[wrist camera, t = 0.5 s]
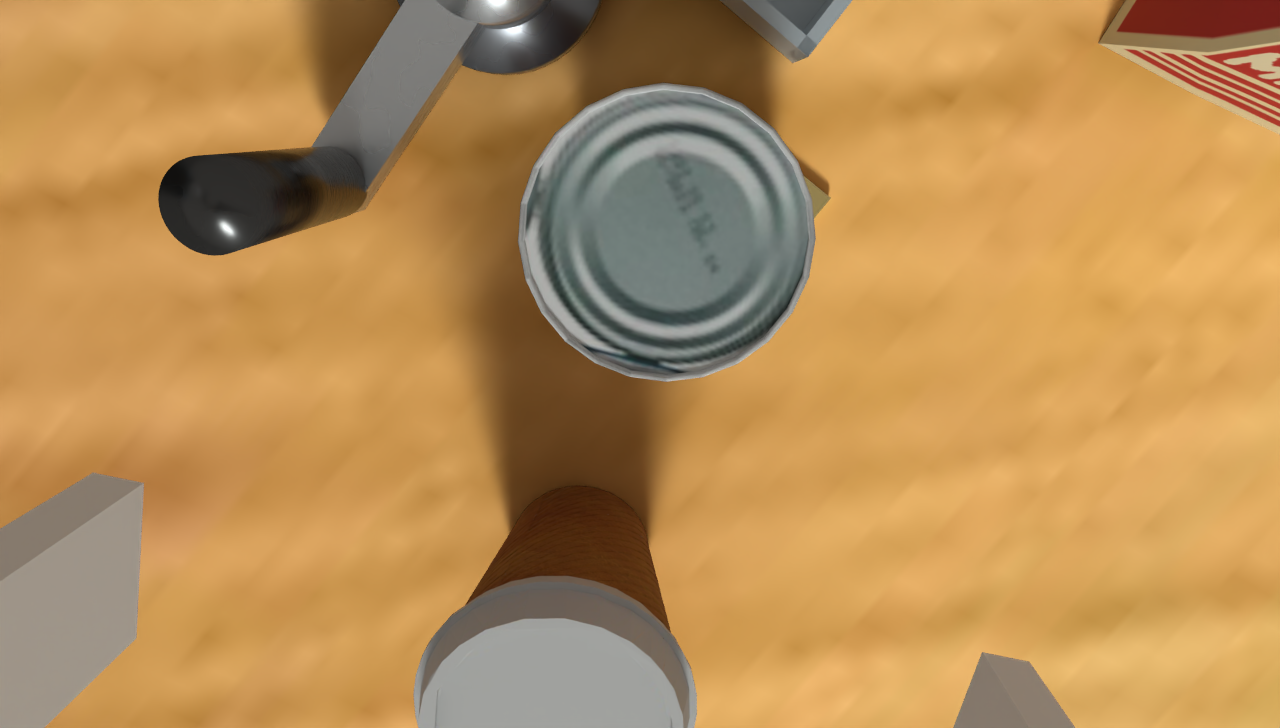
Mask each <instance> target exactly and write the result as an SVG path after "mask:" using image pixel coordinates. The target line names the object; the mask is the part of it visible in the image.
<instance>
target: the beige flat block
mask: <svg viewBox="0 0 1280 728" xmlns="http://www.w3.org/2000/svg"><path fill="white" fill-rule="evenodd" d="M804 179H805V182H806V184H807V187H808V190H809V192H810V195H811V198H812V204H813V215H814V218H815V216H816V215H817V214H818V213H819V212H820V210H821V209H822V208H823V207H824V206H825V204H826V203H827V202H828V201H829V200H830V197H829V196H828V195H826V194H825V193H824V192H823V191H822V190H820V189H819V188H818V187H817V186H816V185H814V184H813V183H812V182H811V181H809V180H808V179H807V178H806V177H805V176H804Z"/></svg>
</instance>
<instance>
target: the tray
mask: <svg viewBox="0 0 1280 728" xmlns="http://www.w3.org/2000/svg"><path fill="white" fill-rule="evenodd" d="M720 1H721V2H722V3H723V4H724V5H726V6H727V7H728V8H729V9H730V10H731V11H733V12H734V13H735V14H736V15H737V16H738V17H740V18H741V19H742V20H743V21H744V22H745V23H747V24H748V25H749V26H750V27H751V28H752V29H754V30H755V31H756V32H757V33H758V34H759V35H761V36H762V37H763V38H764V39H765V40H766V41H768V42H769V43H770V44H771V45H772V46H773V47H775V48H776V49H777V50H778V51H779V52H781V53H782V54H783V55H784V56H785V57H786V58H788V59H789V60H790V61H791V62H792V63H794V62H797V61H799V60H802V59H804V58H806V57H808V56H809V55H810V54H811V52H812V51H813V50H814V49H815V47H816V46H817V45H818V43H819V42H820V41H821V40H822V38H823V37H824V36H825V34H826V33H827V32H828V31H829V29H830V28H831V27H832V26H833V24H834V23H835V22H836V20H837V19H838V18H839V17H840V15H841V14H842V13H843V11H844V10H845V9H846V8H847V6H848V5H849V4H850V3H851V1H852V0H720Z"/></svg>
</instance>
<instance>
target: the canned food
mask: <svg viewBox="0 0 1280 728" xmlns="http://www.w3.org/2000/svg"><path fill="white" fill-rule="evenodd" d="M815 239H816V238H815V227H814V215H813V204H812V198H811V195H810V192H809V190H808V187H807V184H806V182H805V179H804V176H803V174H802V171H801V168H800V165H799V163H798V161H797V159H796V158H795V157H794V155H793V154H792V153H791V151H790V150H789V148H788V147H787V146H786V144H785V143H784V141H783V140H782V139H781V137H780V136H779V135H778V133H777V132H776V130H775V129H774V128H773V127H771V126H770V125H769V124H768V123H766V122H765V121H764V120H763V119H761V118H760V117H759V116H758V115H756V114H755V113H754V112H753V111H751V110H750V109H749V108H747V107H746V106H745V105H744V104H742V103H740V102H738V101H735V100H733V99H731V98H728V97H726V96H723V95H721V94H719V93H716V92H714V91H711V90H709V89H707V88H704V87H695V86H687V85H678V84H670V83H659V84H653V85H647V86H640V87H634V88H628V89H623V90H621V91H618V92H616V93H614V94H612V95H610V96H608V97H605V98H603V99H601V100H599V101H597V102H595V103H593V104H590V105H588V106H586V107H585V108H584V109H583V110H582V111H580V112H579V113H578V114H577V115H576V116H574V117H573V118H572V119H571V120H570V121H569V122H567V123H566V124H565V125H564V126H563V127H562V128H560V129H559V130H558V131H557V132H556V133H555V134H554V136H553V137H552V139H551V140H550V142H549V143H548V145H547V146H546V148H545V149H544V151H543V152H542V154H541V155H540V157H539V158H538V160H537V161H536V162H535V164H534V165H533V168H532V171H531V174H530V177H529V180H528V183H527V186H526V189H525V192H524V195H523V198H522V200H521V206H520V221H519V236H518V243H519V249H520V254H521V259H522V264H523V270H524V275H525V279H526V281H527V284H528V286H529V288H530V290H531V292H532V294H533V296H534V298H535V300H536V303H537V305H538V307H539V309H540V311H541V313H542V314H543V315H544V317H545V318H546V319H547V320H548V321H549V323H550V324H551V325H552V326H553V327H554V329H555V330H556V331H557V332H558V333H559V335H560V336H561V337H562V338H563V339H564V341H565V342H567V343H568V344H569V345H571V346H572V347H573V348H575V349H576V350H578V351H579V352H580V353H582V354H583V355H585V356H586V357H587V358H589V359H590V360H591V361H593V362H594V363H596V364H598V365H601V366H603V367H606V368H608V369H611V370H614V371H616V372H619V373H621V374H624V375H626V376H629V377H634V378H642V379H650V380H658V381H665V382H667V381H675V380H683V379H692V378H700V377H705V376H707V375H710V374H712V373H715V372H717V371H720V370H723V369H725V368H728V367H730V366H733V365H735V364H738V363H739V362H741V361H742V360H743V359H745V358H746V357H748V356H749V355H750V354H752V353H753V352H754V351H756V350H757V349H759V348H760V347H761V346H763V345H764V344H766V343H767V342H768V341H769V340H770V339H771V338H772V336H773V335H774V334H775V333H776V332H777V330H778V329H779V328H780V327H781V326H782V324H783V323H784V322H785V321H786V320H787V318H788V317H789V316H790V315H791V314H792V312H793V310H794V308H795V306H796V304H797V302H798V299H799V297H800V295H801V293H802V291H803V289H804V286H805V284H806V282H807V280H808V278H809V273H810V267H811V262H812V256H813V250H814V245H815Z"/></svg>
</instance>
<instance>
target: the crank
mask: <svg viewBox="0 0 1280 728" xmlns="http://www.w3.org/2000/svg"><path fill="white" fill-rule="evenodd" d="M550 2H551V0H405V1H404V3H403V4H402V6H401V7H400V9H399V10H398V12H397V14H396V15H395V17H394V18H393V20H392V21H391V23H390V25H389V26H388V28H387V29H386V31H385V32H384V34H383V36H382V37H381V39H380V40H379V42H378V43H377V45H376V47H375V48H374V50H373V51H372V53H371V54H370V56H369V58H368V59H367V61H366V62H365V64H364V65H363V67H362V69H361V70H360V72H359V73H358V75H357V76H356V78H355V80H354V81H353V83H352V84H351V86H350V87H349V89H348V91H347V92H346V94H345V95H344V97H343V98H342V100H341V102H340V103H339V105H338V106H337V108H336V109H335V111H334V112H333V114H332V116H331V117H330V119H329V120H328V122H327V123H326V125H325V127H324V128H323V130H322V131H321V133H320V134H319V136H318V138H317V139H316V141H315V142H314V144H313V145H312V147H309V148H296V149H282V150H269V151H255V152H242V153H228V154H215V155H201V156H192V157H188V158H185V159H182V160H180V161H179V162H177V163H176V164H174V165H173V166H172V167H171V168H170V169H169V170H168V171H167V173H166V174H165V175H164V177H163V179H162V182H161V185H160V189H159V208H160V212H161V215H162V218H163V220H164V222H165V224H166V226H167V228H168V229H169V231H170V232H171V233H172V234H173V236H174V237H175V238H176V239H177V240H178V241H180V242H181V243H182V244H183V245H185V246H186V247H188V248H190V249H192V250H194V251H196V252H199V253H202V254H207V255H224V254H228V253H232V252H235V251H238V250H241V249H244V248H248V247H251V246H254V245H257V244H260V243H263V242H267V241H270V240H273V239H276V238H279V237H283V236H286V235H289V234H292V233H295V232H299V231H302V230H305V229H308V228H311V227H314V226H318V225H321V224H324V223H327V222H330V221H334V220H337V219H340V218H343V217H346V216H349V215H351V214H353V213H356V212H359V211H362V210H365V209H366V207H367V206H368V204H369V203H370V201H371V200H372V198H373V197H374V195H375V194H376V192H377V191H378V189H379V188H380V186H381V185H382V183H383V182H384V180H385V179H386V177H387V176H388V174H389V173H390V171H391V170H392V168H393V167H394V165H395V164H396V162H397V161H398V159H399V158H400V156H401V155H402V153H403V152H404V150H405V149H406V147H407V146H408V144H409V143H410V141H411V140H412V138H413V137H414V135H415V134H416V132H417V131H418V130H419V128H420V127H421V125H422V124H423V122H424V121H425V119H426V118H427V116H428V115H429V113H430V112H431V110H432V109H433V107H434V106H435V104H436V103H437V101H438V100H439V98H440V97H441V95H442V94H443V92H444V91H445V89H446V88H447V86H448V85H449V83H450V82H451V80H452V79H453V77H454V76H455V74H456V73H457V71H458V70H459V68H460V67H461V65H462V64H463V62H464V61H465V59H466V58H467V56H468V55H469V53H470V52H471V50H472V49H473V47H474V46H475V44H476V43H477V41H478V40H479V38H480V37H481V35H482V34H483V32H484V31H485V29H486V28H488V29H508V28H513V27H517V26H520V25H522V24H525V23H526V22H528V21H530V20H532V19H533V18H535V17H536V16H537V15H539V14H540V13H541V12H542V11H543V10H544V9H545V8H546V7H547V5H548V4H549V3H550Z"/></svg>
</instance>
